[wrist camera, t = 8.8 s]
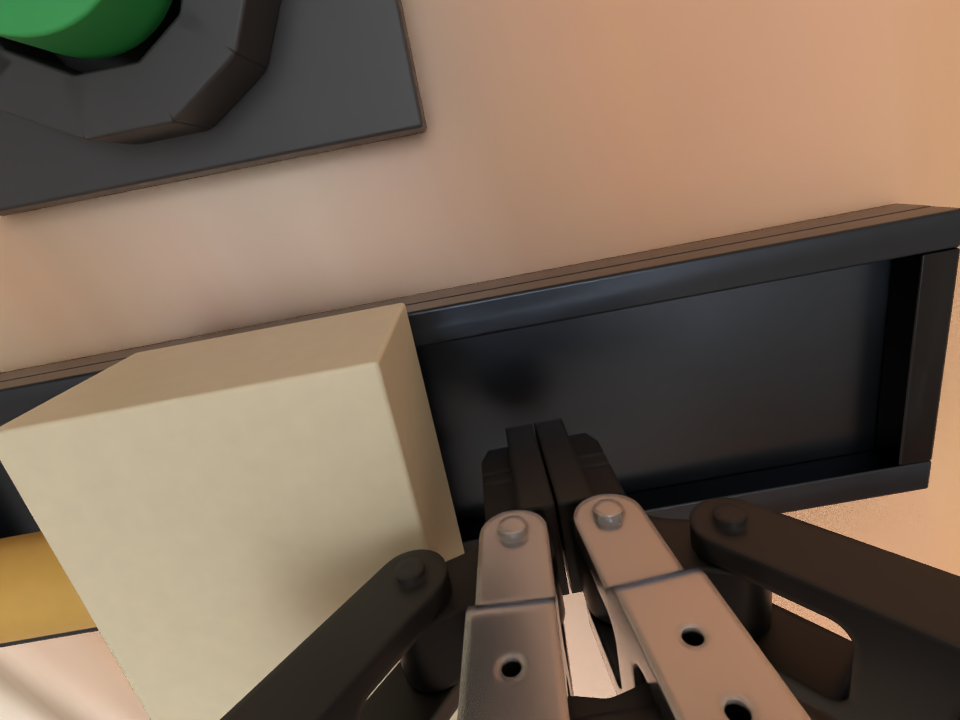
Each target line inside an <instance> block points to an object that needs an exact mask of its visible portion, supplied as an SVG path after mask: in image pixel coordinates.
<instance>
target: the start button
mask: <svg viewBox="0 0 960 720" xmlns="http://www.w3.org/2000/svg"><path fill="white" fill-rule="evenodd" d="M171 3H172V0H0V37H4V38H7V39H10V40H14V41H17V42H20V43H24V44H27V45H30V46H34V47H37V48H40V49H44V50H47V51H50V52H54V53H57V54H60V55H64V56H67V57H73V58H79V59H100V58H108V57H112V56H116V55H119V54H122V53H125V52H127V51H129V50H131V49H133V48H135V47H136V46H138V45H139V44H141V43H142V42H143V41H145V40H146V39H147V38H148V37H149V36H150V35H151V34H152V33H153V32H154V31H155V30H156V29H157V28H158V26H159V25H160V23H161V22H162V21H163V19H164V18H165V16H166V14H167V12H168V10H169V8H170V6H171Z"/></svg>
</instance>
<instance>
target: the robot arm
mask: <svg viewBox="0 0 960 720" xmlns="http://www.w3.org/2000/svg"><path fill="white" fill-rule="evenodd" d="M534 429H535V433H534ZM534 429H533V426H532V424H527V425H521V426H516V427H510V428H505V431H506V437H507V443H508V447H505V448H499V449H494V450H489V451H488V452H487V454H486V456H485V457H484V459H483V461H482V462H481V464H482V476H483V477H482V479H483V494H484V509H485V524H484V526H483V527H482V529H481V531H480V536H479V542H478V543H477V544H476V545H475V546H474V547H473V548H472V549H470V550H469V551H467V552H466V553H464V554H462V555H460V556H458V557H455V558H453V559H451V560H448V561H446V562H445V560H444V558H443V557H442V556H441V555H440V554H438V553H436V552H434V551H431V550H425V549H419V550H412V551H408V552H405V553H403V554H400V555H398V556H396V557H395V558H393V559H392V560H390V561H389V562H388V563H387V564H385V565H384V566H383V567H382V568H381V569H380V570H379V571H378V572H377V573H376V574H375V575H374V576H373V577H372V578H370V579H369V580H368V581H367V582H366V583H365V584H364V585H363V586H362V587H361V588H360V589H359V590H358V591H357V592H356V593H354V594H353V595H352V596H351V597H350V598H349V599H348V600H347V601H346V602H345V603H344V604H343V605H342V606H341V607H340V608H338V609H337V610H336V611H335V612H334V613H333V614H332V615H331V616H330V617H329V618H328V619H327V620H326V621H325V622H324V623H322V624H321V625H320V626H319V627H318V628H317V629H316V630H315V631H314V632H313V633H312V634H311V635H310V636H309V637H307V638H306V639H305V640H304V641H303V642H302V643H301V644H300V645H299V646H298V647H297V648H296V649H295V650H294V651H293V652H291V653H290V654H289V655H288V656H287V657H286V658H285V659H284V660H283V661H282V662H281V663H280V664H279V665H278V666H277V667H275V668H274V669H273V670H272V671H271V672H270V673H269V674H268V675H267V676H266V677H265V678H264V679H263V680H262V681H261V682H259V683H258V684H257V685H256V686H255V687H254V688H253V689H252V690H251V691H250V692H249V693H248V694H247V695H246V696H245V697H243V698H242V699H241V700H240V701H239V702H238V703H237V704H236V705H235V706H234V707H233V708H232V709H231V710H230V711H229V712H227V713H226V714H225V715H224V716H223V717H222V718H221V719H220V720H450V718H451V717H452V715H453V714H454V713H455V711H456V710H457V708H458V715H457V720H960V576H957V575H954V574H951V573H948V572H946V571H943V570H940V569H937V568H934V567H931V566H929V565H926V564H923V563H920V562H917V561H914V560H912V559H909V558H906V557H903V556H900V555H897V554H895V553H892V552H889V551H886V550H883V549H880V548H878V547H875V546H872V545H869V544H866V543H863V542H860V541H858V540H855V539H852V538H849V537H846V536H843V535H841V534H838V533H835V532H832V531H829V530H826V529H824V528H821V527H818V526H815V525H812V524H809V523H807V522H804V521H801V520H798V519H795V518H792V517H790V516H787V515H784V514H781V513H778V512H775V511H772V510H770V509H767V508H764V507H761V506H758V505H755V504H753V503H750V502H747V501H744V500H740V499H735V498H722V497H720V498H712V499H707V500H705V501H702V502H700V503H698V504H697V505H696V506H694V507H693V509H692V510H691V512H690V516H689V520H687V519H668V518H660V517H655V516H652V515H648V514H646V513H645V511H644V510H643V508H642V507H641V506H640V504H639V503H637V502H636V501H635V500H633V499H631V498H629V497H627V496H626V494H625V492H624V490H623V488H622V486H621V485H620V483H619V481H618V479H617V477H616V475H615V473H614V471H613V469H612V467H611V465H610V464H609V461H608V459H607V457H606V455H604V451H603V449H602V448H601V446H600V444H599V442H598V441H597V440H596V439H594V438H593V437H591V436H589V435H588V434H586V433H581V434H575V435H570V436H568V433H567V431H566V428H565V426H564V423H563V421H562V419H561V418H559V419H553V420H548V421H542V422H537V423H534ZM535 435H536V436H535ZM564 564H565V565H564ZM565 568H566V571H567V575H568V579H569V583H570V587H571V590H572V593H577V592H583V593H584V596H585V600H586V603H587V610H588V617H589V623H590V626H591V629H592V631H593V634H594V637H595V639H596V642H597V644H598V647H599V650H600V652H601V655H602V658H603V660H604V663H605V665H606V668H607V671H608V673H609V676H610V679H611V681H612V684H613V686H614V689H615V692H616V694H617V696H615V697H612V698H607V699H601V698H590V697H578V696H574V692H573V685H572V678H571V670H570V663H569V655H568V648H567V641H566V633H565V627H564V618H565V608H564V602H563V596H562V595H567V594H569V589H568V583H567V577H566V571H565ZM772 592H773V593H775V594H777V595H779V596H782V597H784V598H786V599H788V600H790V601H792V602H795V603H797V604H799V605H801V606H803V607H805V608H807V609H810V610H812V611H814V612H816V613H818V614H820V615H822V616H825V617H827V618H829V619H831V620H832V621H834V622H835V623H837V624H838V625H839V626H841V627H842V628H843V629H844V630H845V631H846V632H847V634H848V635H849V636H850V638H851V640H852V641H850V640H848V639H846V638H844V637H842V636H840V635H838V634H835V633H833V632H831V631H829V630H827V629H825V628H823V627H821V626H819V625H817V624H815V623H813V622H811V621H808V620H806V619H804V618H802V617H800V616H798V615H796V614H794V613H792V612H790V611H788V610H786V609H784V608H781V607H779V606H777V605H775V604H773V603H772ZM399 660H400V662H399V663H398V661H399ZM397 663H398V664H397ZM396 664H397V665H396ZM395 665H396V667H395V668H394V669H393V670H392V668H393V667H394V666H395ZM391 670H392V671H391ZM390 671H391V672H390ZM389 672H390V674H389V675H388V676H387V677H386V675H387V674H388V673H389ZM385 677H386V678H385ZM384 678H385V679H384ZM383 679H384V680H383ZM382 680H383V682H382V683H381V684H380V685H379V683H380V682H381V681H382ZM378 685H379V686H378ZM377 686H378V687H377ZM376 687H377V689H376V690H375V691H374V692H373V690H374V689H375V688H376ZM372 692H373V693H372ZM371 693H372V694H371ZM370 694H371V696H370V697H369V695H370ZM368 697H369V698H368ZM367 698H368V699H367Z"/></svg>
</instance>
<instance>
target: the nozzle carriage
mask: <svg viewBox="0 0 960 720" xmlns="http://www.w3.org/2000/svg"><path fill="white" fill-rule="evenodd" d="M0 461H1V463H2V464H3V466H4V468H5V469H6V471H7V473H8V475H9V476H10V478H11V480H12V481H13V483H14V485H15V487H16V488H17V490H18V492H19V494H20V495H21V497H22V499H23V500H24V502H25V504H26V506H27V507H28V509H29V511H30V513H31V514H32V516H33V518H34V519H35V521H36V523H37V525H38V526H39V528H40V530H41V531H40V532H34V533H29V534H23V535H17V536H12V537H6V538H1V539H0V643H6V642H12V641H18V640H24V639H29V638H35V637H41V636H47V635H53V634H59V633H64V632H70V631H76V630H82V629H88V628H93V627H97V628H98V630H99V632H100V633H101V635H102V637H103V639H104V640H105V642H106V644H107V645H108V647H109V649H110V651H111V652H112V654H113V656H114V658H115V659H116V661H117V663H118V664H119V666H120V668H121V670H122V671H123V673H124V675H125V677H126V678H127V680H128V682H129V683H130V685H131V687H132V689H133V690H134V692H135V694H136V696H137V697H138V699H139V701H140V702H141V704H142V706H143V708H144V709H145V711H146V713H147V715H148V716H149V718H150V720H220V719H221V718H222V717H223V716H224V715H225V714H226V713H227V712H229V711H230V710H231V709H232V708H233V707H234V706H235V705H236V704H237V703H238V702H239V701H240V700H241V699H242V698H243V697H245V696H246V695H247V694H248V693H249V692H250V691H251V690H252V689H253V688H254V687H255V686H256V685H257V684H258V683H259V682H261V681H262V680H263V679H264V678H265V677H266V676H267V675H268V674H269V673H270V672H271V671H272V670H273V669H274V668H275V667H277V666H278V665H279V664H280V663H281V662H282V661H283V660H284V659H285V658H286V657H287V656H288V655H289V654H290V653H291V652H293V651H294V650H295V649H296V648H297V647H298V646H299V645H300V644H301V643H302V642H303V641H304V640H305V639H306V638H307V637H309V636H310V635H311V634H312V633H313V632H314V631H315V630H316V629H317V628H318V627H319V626H320V625H321V624H322V623H324V622H325V621H326V620H327V619H328V618H329V617H330V616H331V615H332V614H333V613H334V612H335V611H336V610H337V609H338V608H340V607H341V606H342V605H343V604H344V603H345V602H346V601H347V600H348V599H349V598H350V597H351V596H352V595H353V594H354V593H356V592H357V591H358V590H359V589H360V588H361V587H362V586H363V585H364V584H365V583H366V582H367V581H368V580H369V579H370V578H372V577H373V576H374V575H375V574H376V573H377V572H378V571H379V570H380V569H381V568H382V567H383V566H384V565H385V564H387V563H388V562H389V561H390V560H392V559H393V558H395V557H396V556H398V555H400V554H403V553H405V552H408V551H412V550H419V549H425V550H431V551H434V552H436V553H438V554H440V555H441V556H442V557H443V558H444V560H445V562H446V561H448V560H451V559H453V558H455V557H458V556H460V555H462V554H464V553H465V552H464V548H463V544H462V540H461V535H460V531H459V527H458V523H457V519H456V515H455V510H454V506H453V502H452V498H451V494H450V489H449V485H448V481H447V477H446V473H445V469H444V464H443V460H442V456H441V452H440V448H439V444H438V439H437V435H436V431H435V427H434V423H433V419H432V414H431V410H430V406H429V402H428V398H427V394H426V389H425V385H424V381H423V377H422V373H421V369H420V364H419V360H418V356H417V352H416V348H415V344H414V339H413V335H412V331H411V327H410V323H409V319H408V314H407V310H406V306H405V304H404V303H397V304H392V305H387V306H381V307H376V308H371V309H365V310H360V311H355V312H350V313H344V314H339V315H334V316H328V317H323V318H318V319H312V320H307V321H302V322H297V323H291V324H286V325H281V326H275V327H270V328H265V329H260V330H254V331H249V332H244V333H238V334H233V335H228V336H222V337H217V338H212V339H207V340H201V341H196V342H191V343H185V344H180V345H175V346H170V347H164V348H159V349H154V350H148V351H143V352H138V353H135V354H133V355H131V356H129V357H127V358H126V359H124V360H122V361H120V362H118V363H116V364H115V365H113V366H111V367H109V368H107V369H105V370H104V371H102V372H100V373H98V374H96V375H94V376H92V377H91V378H89V379H87V380H85V381H83V382H81V383H80V384H78V385H76V386H74V387H72V388H70V389H69V390H67V391H65V392H63V393H61V394H59V395H57V396H56V397H54V398H52V399H50V400H48V401H46V402H45V403H43V404H41V405H39V406H37V407H35V408H34V409H32V410H30V411H28V412H26V413H24V414H22V415H21V416H19V417H17V418H15V419H13V420H11V421H10V422H8V423H6V424H4V425H2V426H0ZM399 662H400V660H399V661H398V663H399ZM398 663H397V664H398ZM397 664H396V665H397ZM396 665H395V666H394V667H393V668H392V670H393V669H394V668H395V667H396ZM392 670H391V671H392ZM391 671H390V672H391ZM390 672H389V673H388V674H387V675H386V677H387V676H388V675H389V674H390ZM386 677H385V678H386ZM385 678H384V679H385ZM384 679H383V680H384ZM383 680H382V681H381V682H380V683H379V685H380V684H381V683H382V682H383ZM379 685H378V686H379ZM378 686H377V687H378ZM377 687H376V688H375V689H374V690H373V692H374V691H375V690H376V689H377ZM373 692H372V693H373ZM372 693H371V694H372ZM371 694H370V695H369V697H370V696H371ZM369 697H368V698H369ZM368 698H367V699H368ZM457 715H458V708H457V710H456V711H455V713H454V714H453V715H452V717H451V718H450V720H457Z"/></svg>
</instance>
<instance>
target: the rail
mask: <svg viewBox="0 0 960 720" xmlns="http://www.w3.org/2000/svg"><path fill="white" fill-rule="evenodd" d="M958 246H960V208H950V207H935V206H932V207H931V206H924V205H909V204H893V205H888V206H882V207H877V208H872V209H866V210H861V211H856V212H851V213H845V214H840V215H835V216H829V217H824V218H819V219H814V220H808V221H803V222H798V223H792V224H787V225H782V226H777V227H771V228H766V229H761V230H755V231H750V232H745V233H740V234H734V235H729V236H724V237H718V238H713V239H708V240H703V241H697V242H692V243H687V244H681V245H676V246H671V247H666V248H660V249H655V250H650V251H644V252H639V253H634V254H629V255H623V256H618V257H613V258H607V259H602V260H597V261H592V262H586V263H581V264H576V265H570V266H565V267H560V268H555V269H549V270H544V271H539V272H533V273H528V274H523V275H518V276H512V277H507V278H502V279H496V280H491V281H486V282H481V283H475V284H470V285H465V286H459V287H454V288H449V289H444V290H438V291H433V292H428V293H422V294H417V295H412V296H407V297H401V298H396V299H391V300H385V301H380V302H375V303H370V304H364V305H359V306H354V307H348V308H343V309H338V310H333V311H327V312H322V313H317V314H311V315H306V316H301V317H296V318H290V319H285V320H280V321H274V322H269V323H264V324H259V325H253V326H248V327H243V328H237V329H232V330H227V331H222V332H216V333H211V334H206V335H200V336H195V337H190V338H185V339H179V340H174V341H169V342H163V343H158V344H153V345H148V346H142V347H137V348H132V349H126V350H121V351H116V352H111V353H105V354H100V355H95V356H89V357H84V358H79V359H74V360H68V361H63V362H58V363H52V364H47V365H42V366H37V367H31V368H26V369H21V370H15V371H10V372H5V373H0V426H2V425H4V424H6V423H8V422H10V421H11V420H13V419H15V418H17V417H19V416H21V415H22V414H24V413H26V412H28V411H30V410H32V409H34V408H35V407H37V406H39V405H41V404H43V403H45V402H46V401H48V400H50V399H52V398H54V397H56V396H57V395H59V394H61V393H63V392H65V391H67V390H69V389H70V388H72V387H74V386H76V385H78V384H80V383H81V382H83V381H85V380H87V379H89V378H91V377H92V376H94V375H96V374H98V373H100V372H102V371H104V370H105V369H107V368H109V367H111V366H113V365H115V364H116V363H118V362H120V361H122V360H124V359H126V358H127V357H129V356H131V355H133V354H135V353H138V352H143V351H148V350H154V349H159V348H164V347H170V346H175V345H180V344H185V343H191V342H196V341H201V340H207V339H212V338H217V337H222V336H228V335H233V334H238V333H244V332H249V331H254V330H260V329H265V328H270V327H275V326H281V325H286V324H291V323H297V322H302V321H307V320H312V319H318V318H323V317H328V316H334V315H339V314H344V313H350V312H355V311H360V310H365V309H371V308H376V307H381V306H387V305H392V304H397V303H404V304H405V306H406V310H407V314H408V319H409V323H410V327H411V331H412V335H413V339H414V344H415V348H416V352H417V356H418V360H419V364H420V369H421V373H422V377H423V381H424V385H425V389H426V394H427V398H428V402H429V406H430V410H431V414H432V419H433V423H434V427H435V431H436V435H437V439H438V444H439V448H440V452H441V456H442V460H443V464H444V469H445V473H446V477H447V481H448V485H449V489H450V494H451V498H452V502H453V506H454V510H455V515H456V519H457V523H458V527H459V531H460V535H461V540H462V544H463V548H464V552H465V553H466V552H467V551H469V550H470V549H472V548H473V547H474V546H475V545H476V544H477V543H478V542H479V536H480V531H481V529H482V527H483V526H484V524H485V509H484V494H483V479H482V477H483V476H482V464H481V462H482V461H483V459H484V457H485V456H486V454H487V452H488V451H489V450H494V449H499V448H505V447H508V443H507V437H506V431H505V428H510V427H516V426H521V425H527V424H532V426H533V429H534V423H537V422H542V421H548V420H553V419H559V418H561V419H562V421H563V423H564V426H565V428H566V431H567V433H568V436H570V435H575V434H581V433H586V434H588V435H589V436H591V437H593V438H594V439H596V440H597V441H598V442H599V444H600V446H601V448H602V449H603V451H604V455H606V457H607V459H608V461H609V464H610V465H611V467H612V469H613V471H614V473H615V475H616V477H617V479H618V481H619V483H620V485H621V486H622V488H623V490H624V492H625V494H626V496H627V497H629V498H631V499H633V500H635V501H636V502H637V503H639V504H640V506H641V507H642V508H643V510H644V511H645V513H646V514H648V515H652V516H655V517H660V518H668V519H687V520H689V516H690V512H691V510H692V509H693V507H694V506H696V505H697V504H698V503H700V502H702V501H705V500H707V499H712V498H720V497H722V498H735V499H740V500H744V501H747V502H750V503H753V504H755V505H758V506H761V507H764V508H767V509H770V510H772V511H775V512H778V513H786V512H792V511H798V510H803V509H809V508H815V507H821V506H827V505H833V504H838V503H844V502H850V501H856V500H862V499H867V498H873V497H879V496H885V495H891V494H897V493H902V492H908V491H914V490H920V489H926V488H928V483H929V476H930V468H931V461H930V460H931V459H932V453H933V445H934V438H935V430H936V423H937V416H938V408H939V401H940V394H941V386H942V379H943V371H944V364H945V357H946V349H947V342H948V334H949V327H950V320H951V312H952V305H953V297H954V290H955V283H956V275H957V268H958V261H959V253H960V249H959V248H956V247H958ZM534 433H535V429H534ZM535 436H536V435H535ZM40 531H41V530H40V528H39V526H38V525H37V523H36V521H35V519H34V518H33V516H32V514H31V513H30V511H29V509H28V507H27V506H26V504H25V502H24V500H23V499H22V497H21V495H20V494H19V492H18V490H17V488H16V487H15V485H14V483H13V481H12V480H11V478H10V476H9V475H8V473H7V471H6V469H5V468H4V466H3V464H2V463H1V461H0V539H1V538H6V537H12V536H17V535H23V534H29V533H34V532H40ZM93 631H99V630H98V628H97V627H93V628H88V629H82V630H76V631H70V632H64V633H59V634H53V635H47V636H41V637H35V638H29V639H24V640H18V641H12V642H6V643H0V647H6V646H12V645H18V644H24V643H29V642H35V641H41V640H47V639H53V638H59V637H64V636H70V635H76V634H82V633H88V632H93Z"/></svg>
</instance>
